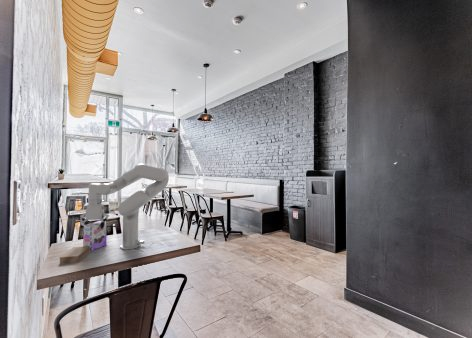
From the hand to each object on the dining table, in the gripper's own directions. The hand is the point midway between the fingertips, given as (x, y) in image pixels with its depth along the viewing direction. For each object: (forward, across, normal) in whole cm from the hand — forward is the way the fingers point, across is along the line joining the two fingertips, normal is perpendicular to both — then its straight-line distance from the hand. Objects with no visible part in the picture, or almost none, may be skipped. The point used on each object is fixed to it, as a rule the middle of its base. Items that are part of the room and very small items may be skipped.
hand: (94, 228), depth 156 cm
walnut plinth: (+14, +3, +16) cm, 21 cm away
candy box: (+13, -1, 0) cm, 13 cm away
